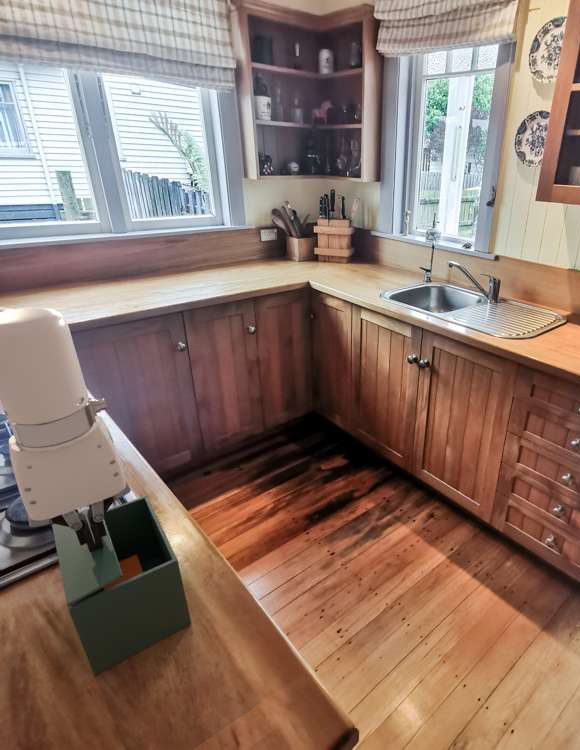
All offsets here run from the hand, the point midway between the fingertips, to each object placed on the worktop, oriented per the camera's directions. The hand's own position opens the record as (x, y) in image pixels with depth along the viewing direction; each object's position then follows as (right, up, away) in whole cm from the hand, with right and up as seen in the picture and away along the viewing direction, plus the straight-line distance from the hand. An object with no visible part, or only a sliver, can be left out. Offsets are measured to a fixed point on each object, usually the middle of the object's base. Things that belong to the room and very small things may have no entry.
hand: (94, 542), depth 59 cm
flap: (-1, -1, 0) cm, 1 cm away
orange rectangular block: (+1, -12, +7) cm, 14 cm away
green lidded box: (+1, -12, +7) cm, 14 cm away
